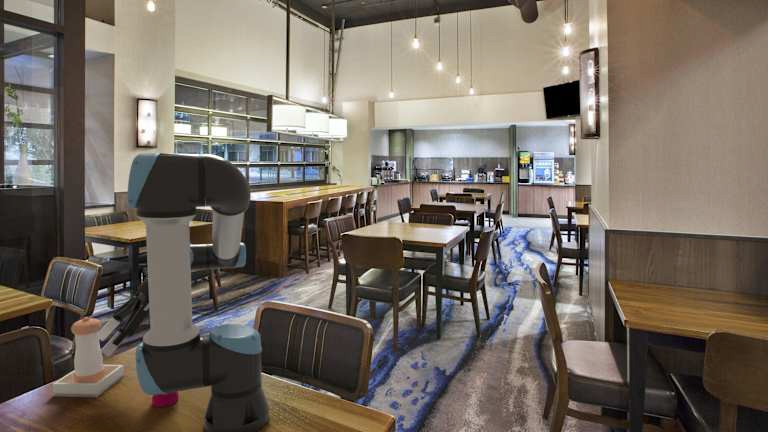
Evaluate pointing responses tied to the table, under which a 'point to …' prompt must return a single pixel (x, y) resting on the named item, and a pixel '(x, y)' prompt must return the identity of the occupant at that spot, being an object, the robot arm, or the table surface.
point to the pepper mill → (165, 399)
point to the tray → (71, 389)
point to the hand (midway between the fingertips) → (101, 345)
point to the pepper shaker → (87, 351)
